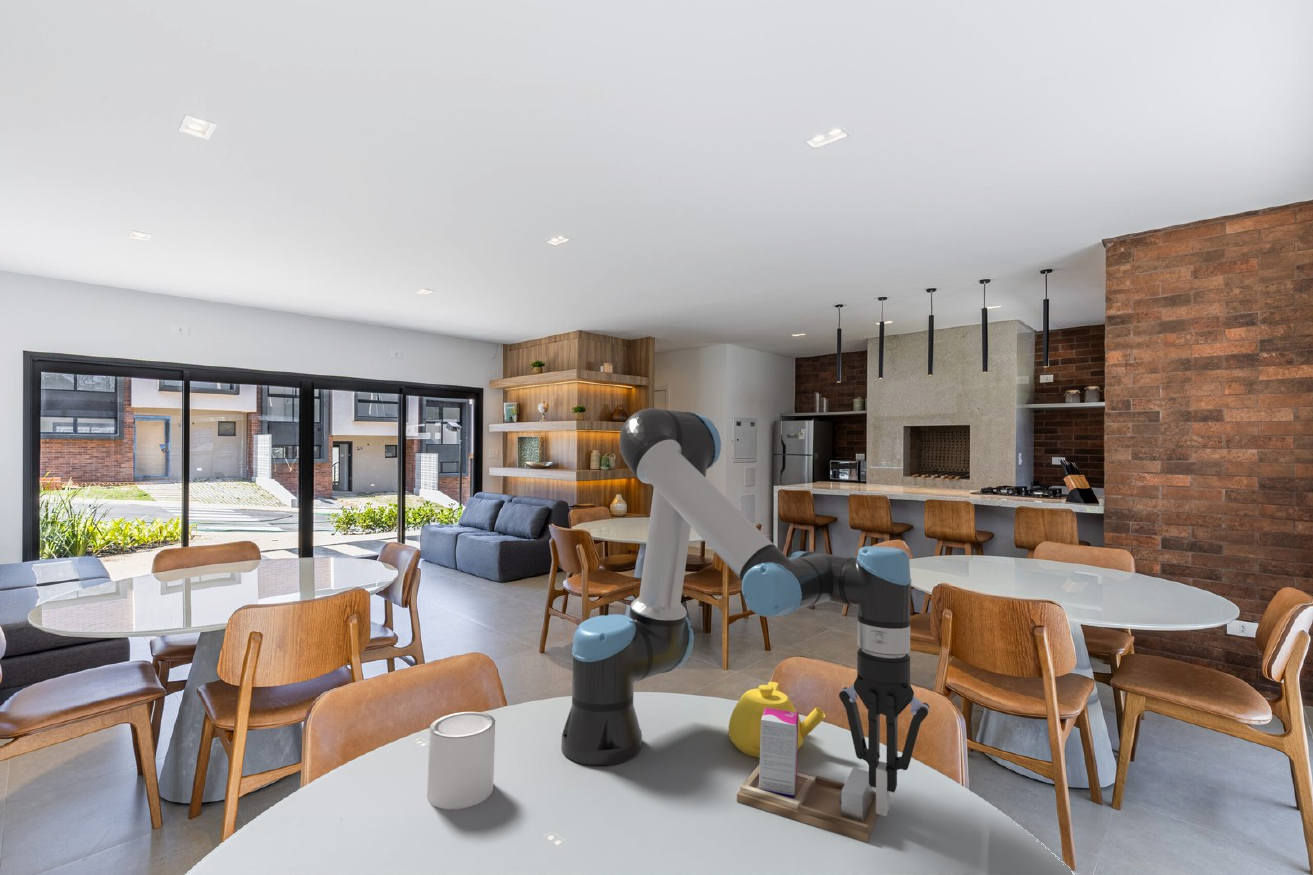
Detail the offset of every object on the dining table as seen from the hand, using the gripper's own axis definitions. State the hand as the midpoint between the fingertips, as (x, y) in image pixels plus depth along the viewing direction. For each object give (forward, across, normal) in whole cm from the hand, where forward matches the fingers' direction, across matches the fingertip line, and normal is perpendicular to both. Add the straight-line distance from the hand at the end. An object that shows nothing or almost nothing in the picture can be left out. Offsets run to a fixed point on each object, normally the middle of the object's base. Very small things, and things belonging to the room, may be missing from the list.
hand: (882, 810), depth 91 cm
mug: (+3, -61, -26) cm, 66 cm away
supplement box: (+1, -16, 0) cm, 16 cm away
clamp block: (+1, -4, 0) cm, 4 cm away
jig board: (+2, -11, 0) cm, 11 cm away
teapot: (+3, -22, +16) cm, 28 cm away
